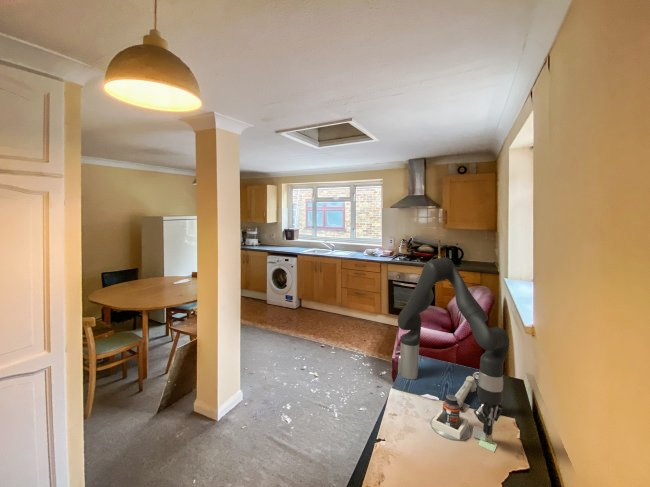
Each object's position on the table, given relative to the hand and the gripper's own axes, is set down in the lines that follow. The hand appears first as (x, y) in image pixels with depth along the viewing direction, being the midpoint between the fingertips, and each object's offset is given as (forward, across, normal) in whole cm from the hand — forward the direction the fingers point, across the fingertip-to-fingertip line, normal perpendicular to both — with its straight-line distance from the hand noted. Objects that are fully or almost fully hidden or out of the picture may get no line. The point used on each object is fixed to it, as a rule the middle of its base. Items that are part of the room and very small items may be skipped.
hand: (487, 433), depth 103 cm
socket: (+5, -4, +12) cm, 14 cm away
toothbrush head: (+6, +19, +25) cm, 31 cm away
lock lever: (+4, +2, +3) cm, 5 cm away
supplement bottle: (+5, -4, +12) cm, 14 cm away
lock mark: (+5, +1, +1) cm, 5 cm away
